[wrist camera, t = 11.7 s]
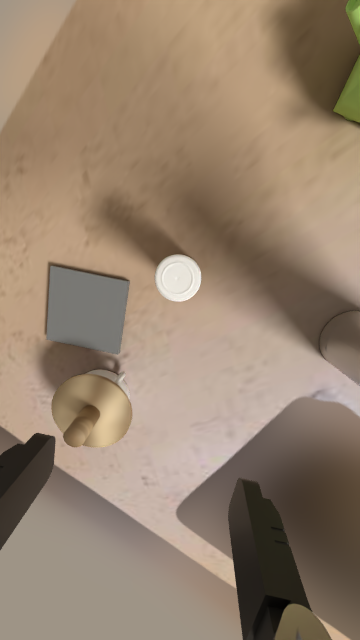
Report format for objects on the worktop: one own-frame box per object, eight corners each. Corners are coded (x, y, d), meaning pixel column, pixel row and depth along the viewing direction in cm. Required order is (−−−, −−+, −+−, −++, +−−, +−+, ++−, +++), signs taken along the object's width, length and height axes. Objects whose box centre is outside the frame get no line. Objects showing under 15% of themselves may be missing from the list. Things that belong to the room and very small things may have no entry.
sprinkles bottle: (195, 252, 35) (194, 248, 22) (202, 282, 36) (206, 295, 23) (165, 261, 35) (147, 261, 22) (173, 290, 36) (161, 307, 23)
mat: (129, 281, 36) (128, 281, 35) (119, 352, 39) (117, 354, 38) (54, 265, 37) (50, 265, 36) (50, 337, 40) (46, 339, 39)
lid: (137, 382, 34) (125, 407, 28) (126, 450, 37) (114, 484, 32) (56, 366, 34) (29, 387, 29) (52, 434, 37) (27, 465, 32)
